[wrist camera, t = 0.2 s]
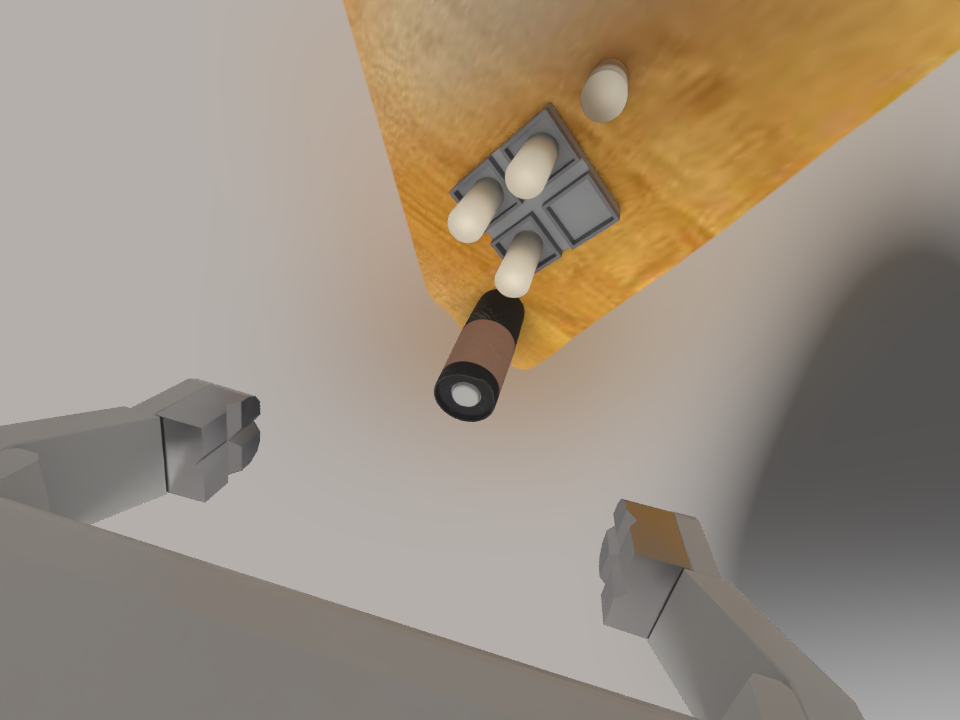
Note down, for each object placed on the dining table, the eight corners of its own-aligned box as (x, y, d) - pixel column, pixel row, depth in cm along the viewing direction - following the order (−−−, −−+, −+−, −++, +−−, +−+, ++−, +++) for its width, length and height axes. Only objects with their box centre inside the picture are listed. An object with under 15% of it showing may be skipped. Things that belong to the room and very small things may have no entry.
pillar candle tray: (550, 102, 50) (532, 126, 41) (620, 207, 55) (617, 251, 46) (458, 182, 58) (425, 217, 49) (526, 268, 63) (507, 315, 54)
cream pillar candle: (615, 49, 46) (611, 59, 39) (635, 84, 48) (636, 101, 40) (581, 78, 48) (571, 93, 41) (601, 111, 50) (596, 132, 42)
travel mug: (475, 326, 72) (433, 415, 56) (477, 283, 67) (431, 367, 52) (523, 335, 70) (493, 428, 55) (529, 291, 65) (497, 381, 50)
